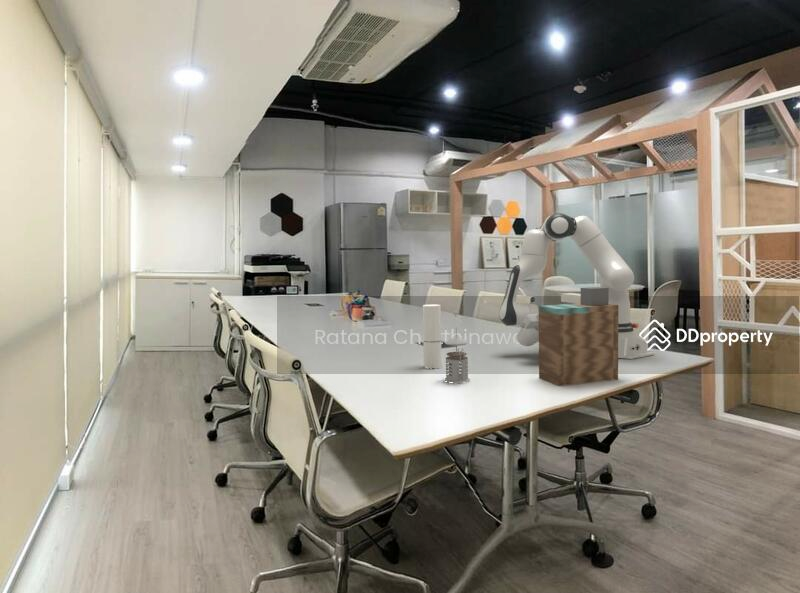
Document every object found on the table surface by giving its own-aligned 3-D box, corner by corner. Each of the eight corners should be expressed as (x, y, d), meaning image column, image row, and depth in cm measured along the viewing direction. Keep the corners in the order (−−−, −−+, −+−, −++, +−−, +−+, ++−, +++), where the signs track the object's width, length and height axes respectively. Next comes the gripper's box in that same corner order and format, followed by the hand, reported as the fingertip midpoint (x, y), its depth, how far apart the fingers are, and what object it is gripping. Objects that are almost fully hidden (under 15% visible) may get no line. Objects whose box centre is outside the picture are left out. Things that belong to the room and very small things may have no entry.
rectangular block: (573, 300, 202) (573, 285, 202) (608, 305, 183) (608, 287, 183) (557, 301, 200) (557, 285, 200) (591, 306, 181) (591, 288, 181)
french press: (465, 376, 195) (464, 309, 193) (476, 383, 183) (475, 312, 181) (439, 378, 192) (438, 310, 190) (449, 385, 181) (448, 313, 179)
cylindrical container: (441, 365, 215) (440, 304, 213) (441, 369, 208) (440, 306, 206) (424, 365, 216) (423, 304, 214) (423, 369, 208) (422, 306, 207)
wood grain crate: (595, 372, 196) (595, 302, 194) (618, 379, 184) (618, 305, 182) (539, 378, 188) (538, 305, 186) (558, 385, 177) (558, 308, 175)
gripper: (516, 320, 217) (531, 306, 205) (559, 317, 223) (576, 303, 211) (520, 334, 214) (536, 320, 202) (563, 331, 220) (581, 317, 208)
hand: (557, 311), depth 207 cm, fingers open, 8 cm apart
